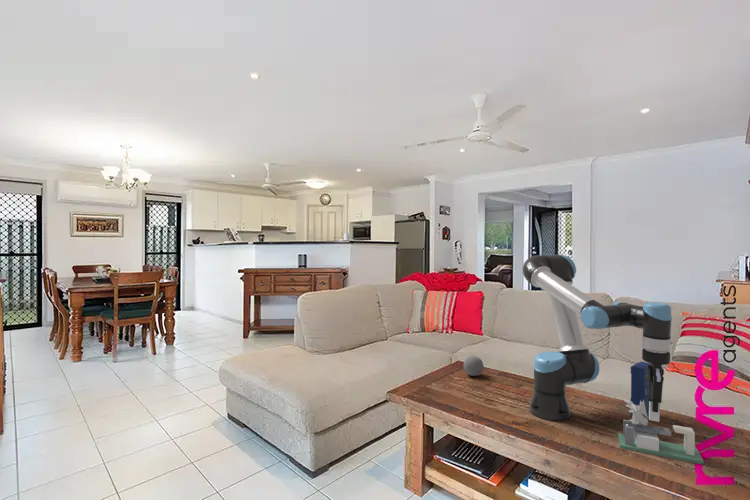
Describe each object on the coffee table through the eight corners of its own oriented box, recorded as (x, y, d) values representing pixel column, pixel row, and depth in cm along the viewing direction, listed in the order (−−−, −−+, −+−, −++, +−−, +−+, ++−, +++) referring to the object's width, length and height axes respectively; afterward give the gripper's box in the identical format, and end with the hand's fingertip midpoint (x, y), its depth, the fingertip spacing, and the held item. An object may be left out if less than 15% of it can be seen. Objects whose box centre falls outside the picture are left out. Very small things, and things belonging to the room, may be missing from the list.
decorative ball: (464, 378, 199) (464, 358, 199) (463, 371, 209) (462, 353, 208) (484, 379, 197) (484, 359, 197) (482, 372, 207) (482, 353, 207)
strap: (626, 430, 133) (625, 425, 133) (624, 425, 137) (624, 420, 137) (671, 437, 128) (671, 432, 128) (668, 432, 131) (668, 427, 131)
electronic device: (644, 420, 151) (644, 368, 151) (629, 416, 155) (629, 365, 155) (653, 413, 157) (653, 363, 157) (638, 409, 161) (639, 360, 161)
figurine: (629, 422, 150) (630, 391, 150) (653, 430, 144) (653, 397, 144) (617, 430, 144) (617, 398, 143) (641, 439, 138) (641, 405, 137)
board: (620, 447, 132) (620, 427, 132) (617, 435, 140) (617, 416, 140) (703, 464, 122) (704, 442, 122) (696, 450, 130) (696, 430, 130)
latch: (674, 452, 127) (675, 429, 127) (672, 446, 131) (672, 424, 130) (694, 455, 125) (694, 433, 125) (691, 450, 128) (691, 428, 128)
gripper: (674, 357, 123) (672, 431, 124) (666, 346, 134) (664, 414, 136) (645, 353, 126) (643, 426, 127) (639, 343, 138) (637, 409, 139)
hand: (654, 419), depth 132 cm, fingers closed
